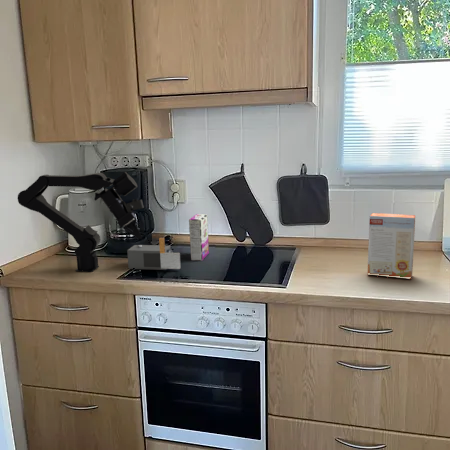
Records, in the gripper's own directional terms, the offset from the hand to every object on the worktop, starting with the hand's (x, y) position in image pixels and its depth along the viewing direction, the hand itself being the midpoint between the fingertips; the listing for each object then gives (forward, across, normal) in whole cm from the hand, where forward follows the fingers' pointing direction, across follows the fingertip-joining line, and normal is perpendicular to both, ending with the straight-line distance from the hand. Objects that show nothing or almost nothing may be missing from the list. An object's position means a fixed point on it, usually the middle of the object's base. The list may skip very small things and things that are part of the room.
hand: (140, 238), depth 170 cm
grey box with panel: (+10, +5, +3) cm, 12 cm away
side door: (+16, -3, -2) cm, 16 cm away
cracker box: (+58, -28, -59) cm, 88 cm away
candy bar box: (+20, +12, -14) cm, 28 cm away
